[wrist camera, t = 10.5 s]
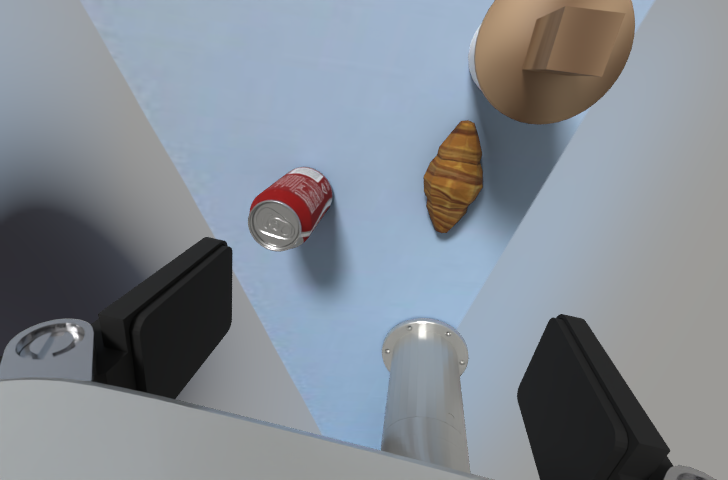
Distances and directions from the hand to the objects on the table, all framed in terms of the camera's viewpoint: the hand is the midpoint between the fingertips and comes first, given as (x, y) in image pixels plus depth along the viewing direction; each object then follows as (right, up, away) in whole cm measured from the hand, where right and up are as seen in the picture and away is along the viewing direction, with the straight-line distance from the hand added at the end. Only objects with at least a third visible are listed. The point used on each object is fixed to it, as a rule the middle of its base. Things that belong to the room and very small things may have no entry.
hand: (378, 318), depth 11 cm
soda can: (-8, +9, +37) cm, 39 cm away
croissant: (+10, +10, +34) cm, 37 cm away
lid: (+13, +16, +17) cm, 27 cm away
